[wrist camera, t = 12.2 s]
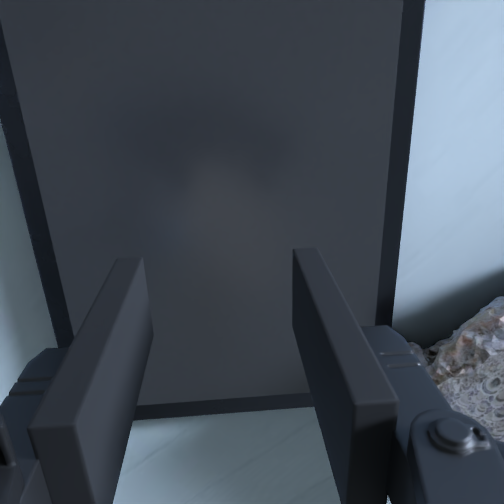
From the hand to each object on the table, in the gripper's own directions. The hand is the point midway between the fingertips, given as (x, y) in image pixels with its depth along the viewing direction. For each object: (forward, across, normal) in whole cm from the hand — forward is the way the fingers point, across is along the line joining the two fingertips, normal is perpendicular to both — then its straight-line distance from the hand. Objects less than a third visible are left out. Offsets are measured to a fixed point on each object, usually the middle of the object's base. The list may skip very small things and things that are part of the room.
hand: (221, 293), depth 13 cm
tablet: (+9, 0, 0) cm, 9 cm away
